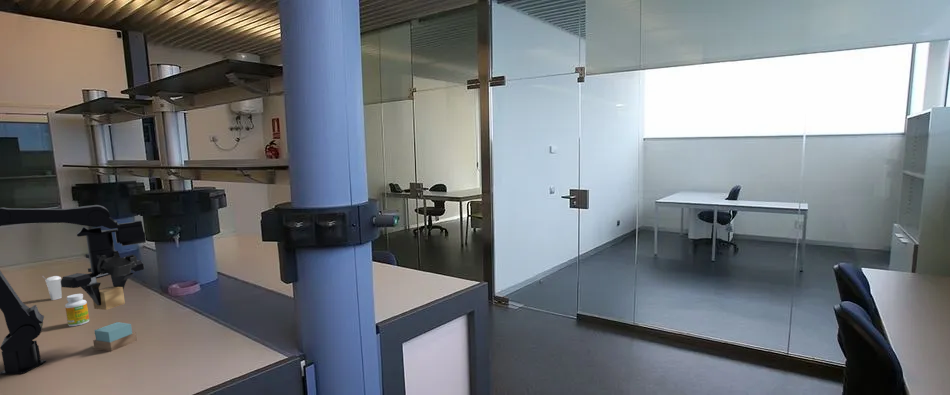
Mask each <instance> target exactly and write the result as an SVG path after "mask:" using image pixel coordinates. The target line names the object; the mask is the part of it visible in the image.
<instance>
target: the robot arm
mask: <svg viewBox="0 0 950 395" xmlns="http://www.w3.org/2000/svg"><path fill="white" fill-rule="evenodd" d="M54 223H57V224H59V223H60V224H61V223H62V224H63V223H64V224H72V225H78V226H82V228H81V229H80V230H79V231H78V232H77V233H76V237H79V238H80V237H85V238H86V245H87V250H88V251H87V252H88V253H86V254H85V258H86V259H89V263H90V264H89V265H90V268H87V272H88V273H83V272H82V273H79V272H77V273H73V274H69V275H65V276H63V277H61V288H68V289H69V288H70V289H77V288H78V289H79V288H81V289H82V290H83V291H85V292H86V294H87V295H88V296H89V297H90V298H91V299H92V301H94V302H95V303H96V304H97V305H99V306H100V305H101V297H100V292H99V290H100V286H101V284H102V283H101V282H97V279H100V278H103V277H108V276H110V279H111V282H112V286H114V287H123V291H124V290H125V289H124V288H125V286H126V284H127V281H128V280H129V279H130V277H131V276H133V275H134V274H135V272H138V271H139V272H140V271H142V270H145V263H144V262H143V261H142V260H138V258H137V256H136V255H135V254H130V255H126V256H124V257H122V256H120V253H119V250H116V249H115V244H114V237H113V233H114V235H115V241H116V244H119V245H121V247H126V246H133V245H139V244H145V243H146V242H147V241H146V240H147V239H146V234H145V233H146V232H145V231H144V226H143V221H142V220H135V221H134V220H133V221H130V222H122V223H121V222H120V223H119V222H118V220H116V219H114V218H112V217H111V216H110V212H109V210H108V209H107V208H106V207H105V206H103V205H100V204H94V205H84V206H78V207H69V208H20V207H19V208H14V207H13V208H8V207H4V206H3V207H0V227H1V226H3V225H5V224H54ZM85 226H86V227H85ZM87 227H93V228H87ZM102 227H104V228H107V229H104V230H102ZM38 308H39V307H38V306H37V305H36V304H34V305H32V306H31V307H29V306H28V305H26V304H25V303H24V302H23V301H22V300H21V299H20V297H19V296H18V294H17V293H16V291H15V289H14V288H13V287H12V285H11V283H10V282H9V281H8V280H7V278H6V276H5V275H4V274H3V272H2V271H1V270H0V311H1V312H2V313H3V316H4V320H5V323H6V324H5V325H6V327H7V329H8V334H7V335H6V336H5V337H4V338H3V341H2V343H1V345H0V350H1V357H2V362H3V368H4V370H1V371H0V375H17V374H25V373H27V372H29V371H31V370H33V369H35V368H38V367H39V366H40V365H43V364H44V363H46V362H47V359H41V353H40V346H39V344H38V341H37V340H35V339H37V338H38V337H39V336H40V335H41V333H42V329H43V326H44V319H45V315H43V314H42V313H40V311H39V309H38Z"/></svg>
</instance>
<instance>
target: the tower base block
mask: <svg viewBox="0 0 950 395" xmlns="http://www.w3.org/2000/svg"><path fill="white" fill-rule="evenodd" d="M136 333H137V332H135V331H134V332H133V331H132V334H130V335H128V336H125V337H123V338H120V339H118V340H115V341H112V342H104V341H97V340H96V339H94V340H93V348H94V349H93V350H98V351H99V350H100V351H107V352H114V351H116V350H118V349H121V348H123V347H125V346H127V345H130V344H133V343H135V342H137V341H138V340H137V334H136Z"/></svg>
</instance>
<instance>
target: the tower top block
mask: <svg viewBox="0 0 950 395" xmlns="http://www.w3.org/2000/svg"><path fill="white" fill-rule="evenodd" d="M93 331H94V336H95V340H97V341H104V342H112V341H115V340H118V339H120V338H123V337H125V336H128V335H130V334H132V332H133V329H132V324H131V323H126V322H119V321H118V322H114V323H111V324H108V325H105V326H103V327H100V328H97V329H94V330H93Z"/></svg>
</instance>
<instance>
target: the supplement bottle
mask: <svg viewBox="0 0 950 395" xmlns="http://www.w3.org/2000/svg"><path fill="white" fill-rule="evenodd" d="M83 298H84V294H83V293H74V294H70V295H67V296H66V301H67V303H65V305H64V307H65V313H66V319H67V320H66V321H67V325H68V326H69V327H77V326H81V325H86V324H87V323H89V322H90V314H89V308H88V301H87V300H86V299H83Z"/></svg>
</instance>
